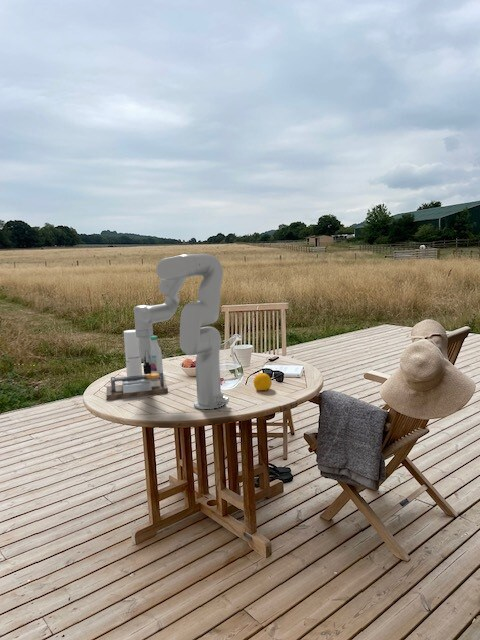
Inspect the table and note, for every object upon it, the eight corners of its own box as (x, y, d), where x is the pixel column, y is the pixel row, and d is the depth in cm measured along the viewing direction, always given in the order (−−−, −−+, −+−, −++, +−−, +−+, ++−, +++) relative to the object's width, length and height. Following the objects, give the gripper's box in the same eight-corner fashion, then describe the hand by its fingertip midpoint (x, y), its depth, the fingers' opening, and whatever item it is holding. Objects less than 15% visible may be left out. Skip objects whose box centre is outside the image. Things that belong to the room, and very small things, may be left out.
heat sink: (111, 394, 193) (110, 381, 193) (111, 386, 206) (110, 373, 206) (164, 388, 199) (164, 375, 199) (161, 380, 212) (160, 368, 212)
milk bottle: (157, 371, 236) (155, 334, 233) (166, 374, 231) (163, 335, 228) (144, 375, 231) (142, 336, 228) (152, 377, 225) (150, 338, 222)
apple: (271, 392, 195) (270, 375, 193) (252, 392, 196) (252, 375, 194) (272, 387, 202) (271, 370, 201) (254, 387, 203) (254, 370, 202)
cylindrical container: (138, 384, 215) (135, 332, 211) (124, 383, 217) (120, 332, 213) (144, 379, 222) (141, 329, 218) (131, 379, 223) (127, 329, 220)
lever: (111, 382, 197) (111, 380, 197) (111, 379, 201) (111, 377, 201) (159, 377, 203) (159, 375, 203) (158, 374, 207) (158, 372, 207)
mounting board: (106, 400, 193) (106, 395, 193) (107, 390, 206) (106, 386, 206) (168, 392, 200) (167, 388, 200) (164, 384, 213) (164, 380, 213)
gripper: (134, 331, 207) (138, 370, 209) (136, 336, 192) (140, 378, 195) (151, 330, 209) (154, 368, 211) (154, 334, 194) (157, 376, 197)
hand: (147, 373), depth 203 cm, fingers closed
